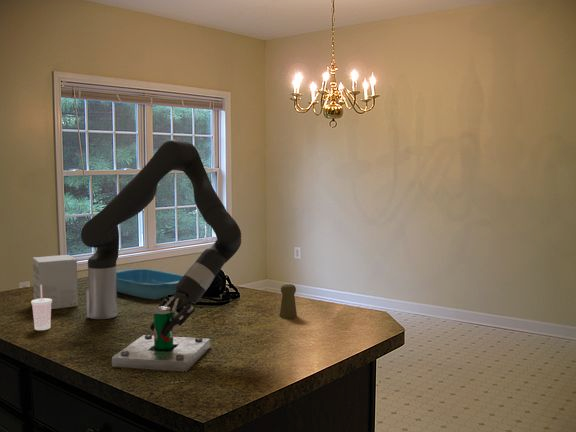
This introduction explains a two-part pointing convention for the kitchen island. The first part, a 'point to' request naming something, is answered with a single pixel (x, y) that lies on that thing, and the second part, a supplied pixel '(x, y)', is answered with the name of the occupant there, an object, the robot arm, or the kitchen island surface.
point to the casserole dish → (147, 283)
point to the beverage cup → (42, 312)
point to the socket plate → (161, 354)
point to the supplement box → (56, 280)
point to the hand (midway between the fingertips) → (157, 332)
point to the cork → (288, 301)
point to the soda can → (160, 319)
